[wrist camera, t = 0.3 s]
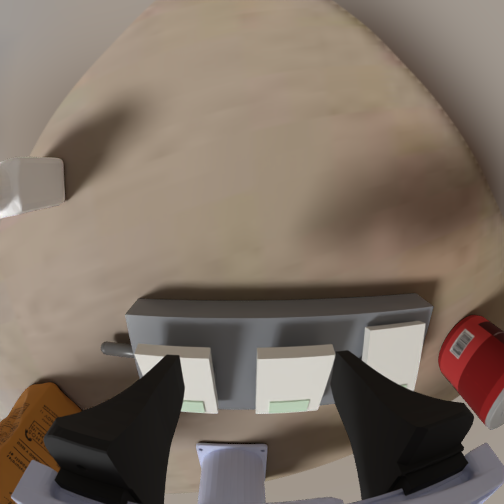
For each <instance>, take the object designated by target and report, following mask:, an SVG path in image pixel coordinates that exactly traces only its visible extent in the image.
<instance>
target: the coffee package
mask: <svg viewBox="0 0 504 504" xmlns="http://www.w3.org/2000/svg"><path fill="white" fill-rule="evenodd" d="M78 412H81V409H80V408H79V407H78V406H77V405H76V404H75V403H74V402H73V401H71V400H70V399H69V398H68V397H67V396H66V395H65V394H64V393H63V392H62V391H61V390H60V389H59V388H58V387H57V385H56V384H54V383H51V382H47V383H44V384H35V385H31V386H29V387H28V388H27V389H26V390H25V391H24V392H23V393H22V394H21V396H20V397H19V399H18V400H17V402H16V403H15V405H14V407H13V408H12V410H11V412H10V413H9V415H8V416H7V417H6V418H5V419H3V420H2V421H1V422H0V504H17V503H16V502H15V501H14V500H13V499H12V498H11V495H12V494H13V492H14V490H15V488H16V486H17V485H18V483H19V481H20V479H21V477H22V476H23V474H24V472H25V471H26V469H27V467H28V465H29V464H30V462H31V460H35V461H37V462H39V463H41V464H43V465H46V466H48V467H50V468H52V469H54V470H55V471H56V472H57V473H58V472H59V470H60V468H61V467H60V466H59V465H58V464H57V462H56V461H55V460H54V458H53V457H52V456H51V454H50V453H49V452H48V450H47V448H46V447H45V444H44V441H43V439H44V436H45V434H46V433H47V431H48V430H49V428H50V427H51V425H52V424H53V422H54V421H55V419H56V418H57V417H62V416H67V415H71V414H75V413H78Z"/></svg>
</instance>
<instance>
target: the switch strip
mask: <svg viewBox="0 0 504 504" xmlns="http://www.w3.org/2000/svg"><path fill="white" fill-rule="evenodd" d="M432 310H433V306H432V305H431V304H430V303H428V302H427V301H426V300H424V299H423V298H422V297H420V296H419V295H418V294H417V293H412V294H399V295H385V296H370V297H352V298H331V299H304V300H254V301H213V300H163V299H138V300H137V301H136V302H135V303H134V304H133V306H132V307H131V308H130V309H129V310H128V312H127V313H126V314H125V317H126V322H127V327H128V332H129V337H130V341H131V344H124V343H114V342H104V343H102V345H101V351H102V352H103V353H104V354H106V355H112V356H120V357H128V358H135V362H136V366H137V370H138V374H139V378H142V377H143V375H142V372H141V370H140V367H139V365H138V362H137V360H136V357H135V355H134V353H135V350H136V348H137V345H138V344H150V345H165V346H182V347H209V348H210V349H211V356H212V363H213V367H215V368H216V381H215V384H216V390H217V397H218V403H219V406H218V409H256V405H255V403H256V367H257V348H269V347H296V346H314V345H328V344H332V345H333V348H334V351H335V353H336V351H345V350H348V351H350V352H351V353H353V354H354V355H355V356H357V357H358V358H359V359H361V360H362V354H363V345H364V334H365V327H369V326H379V325H388V324H397V323H405V322H413V321H421V322H423V323H425V332H424V339H423V344H424V340H425V337H426V333H427V330H428V326H429V322H430V318H431V314H432ZM422 347H423V346H422ZM333 365H334V362H333ZM333 365H332V369H331V372H330V375H329V378H328V381H327V384H326V387H325V390H324V393H323V396H322V399H321V402H320V405H328V404H335V402H334V398H333V395H332V390H331V386H330V382H331V377H332V371H333Z"/></svg>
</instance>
